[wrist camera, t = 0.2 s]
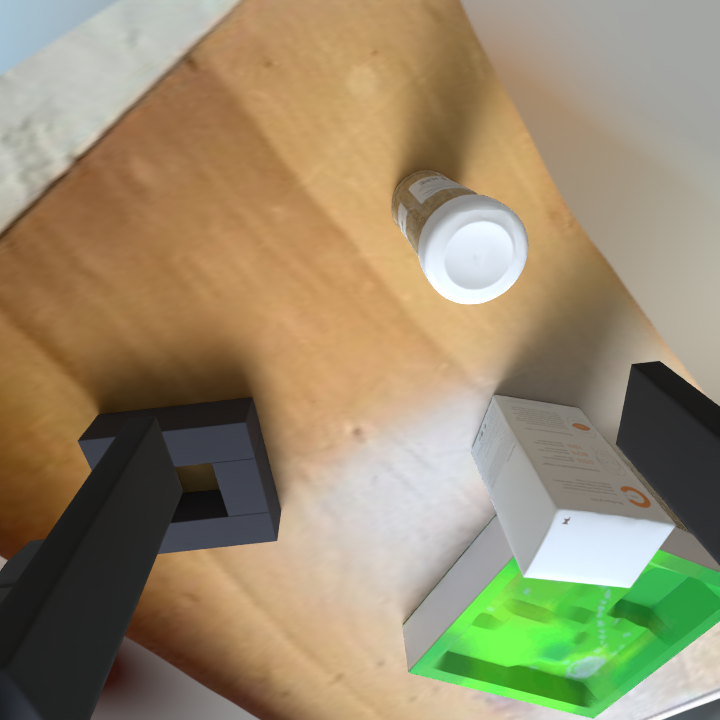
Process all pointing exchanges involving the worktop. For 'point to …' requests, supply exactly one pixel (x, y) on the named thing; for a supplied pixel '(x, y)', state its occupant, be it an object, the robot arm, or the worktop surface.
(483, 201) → the sprinkles bottle
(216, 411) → the dark grey square frame
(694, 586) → the green board game box
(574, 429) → the small box
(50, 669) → the robot arm
